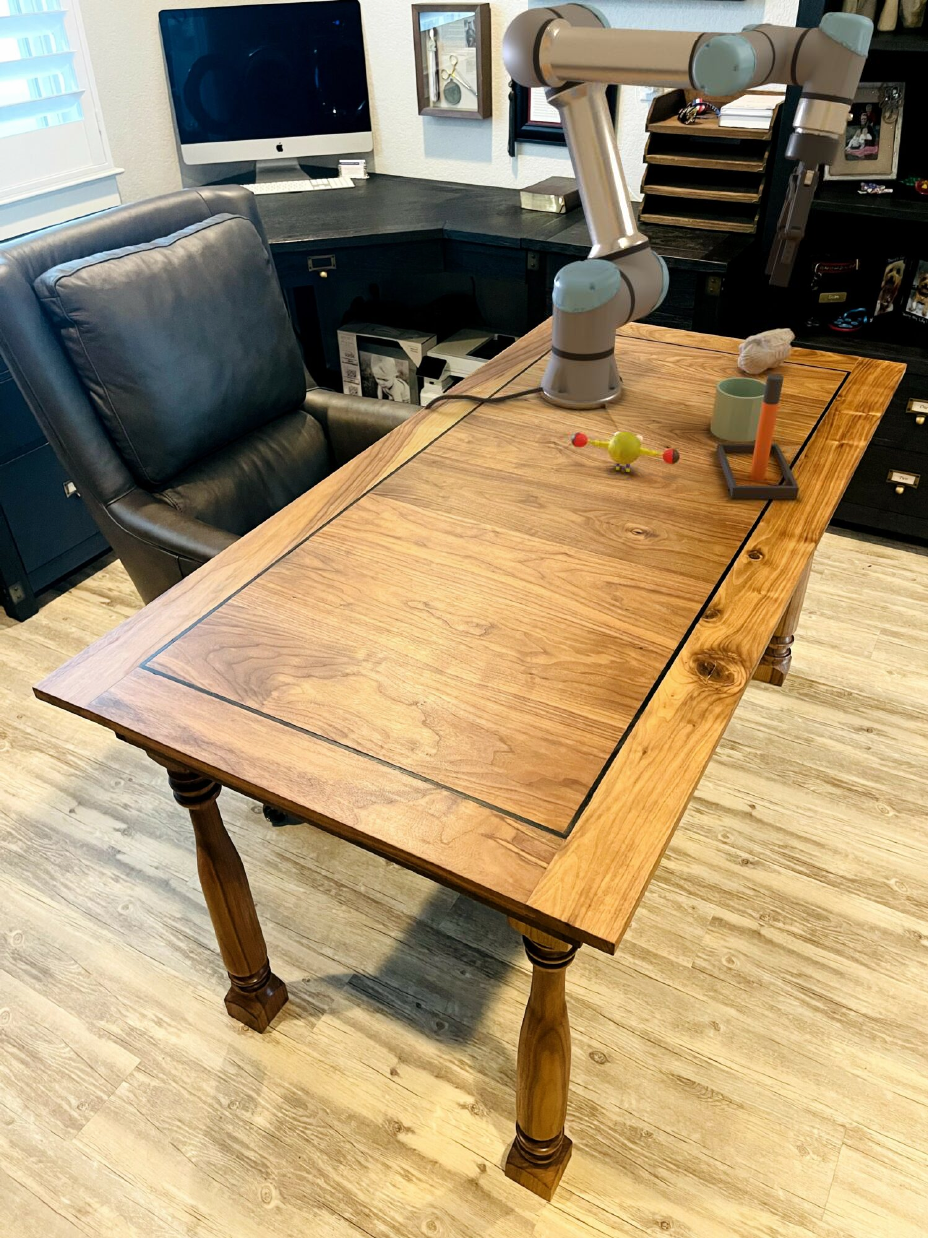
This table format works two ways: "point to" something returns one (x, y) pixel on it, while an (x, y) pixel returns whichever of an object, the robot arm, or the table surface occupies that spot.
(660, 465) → the table surface
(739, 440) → the pen cup
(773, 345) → the fossil replica
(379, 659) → the table surface
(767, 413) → the marker
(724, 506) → the table surface
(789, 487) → the pen tray
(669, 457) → the toy figure
